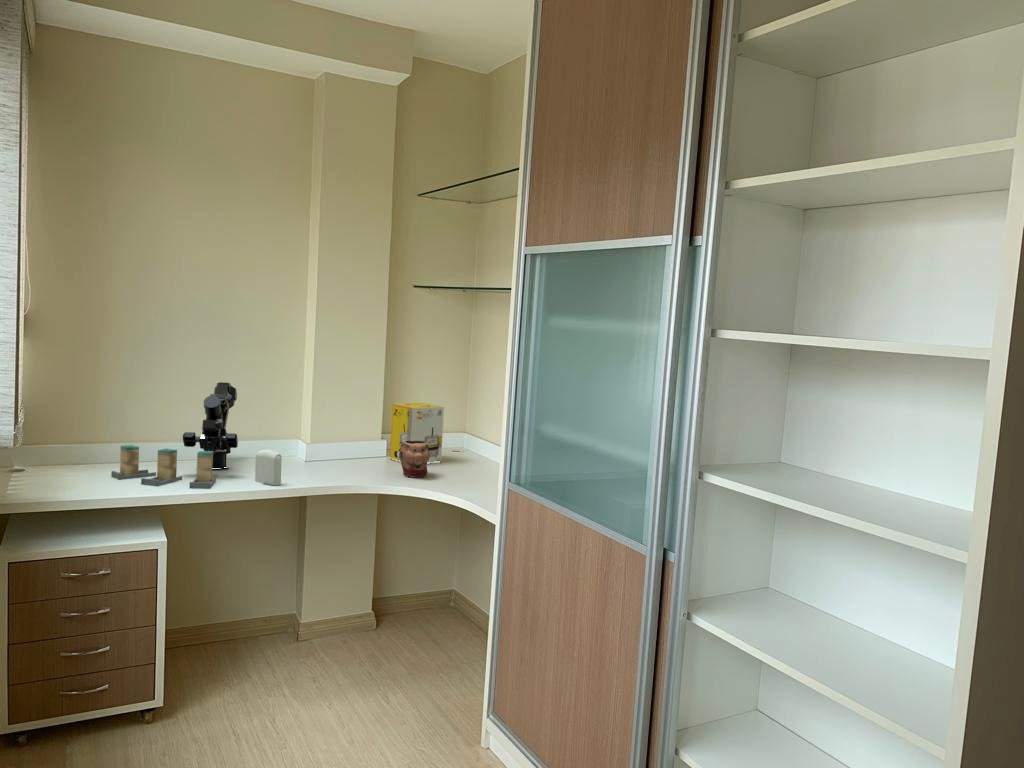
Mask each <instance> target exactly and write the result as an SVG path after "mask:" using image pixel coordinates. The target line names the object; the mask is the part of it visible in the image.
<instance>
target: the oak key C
mask: <svg viewBox="0 0 1024 768" xmlns="http://www.w3.org/2000/svg"><path fill="white" fill-rule="evenodd" d="M196 455H197V456H196V457H197V459H196V477H197V482H211V481H212V480H213V470H212V463H213V451H204V450H200V451H198V452H197V453H196Z"/></svg>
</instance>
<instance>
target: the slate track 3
mask: <svg viewBox="0 0 1024 768" xmlns="http://www.w3.org/2000/svg"><path fill="white" fill-rule="evenodd" d="M216 481H217V477H212V481H211V482H197V476H196V477H195V478H194V479H193V481H189V489H197V490H199V489H202V490H203V489H204V490H210V489H212V487H213V486H214V484H215V483H216Z"/></svg>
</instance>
